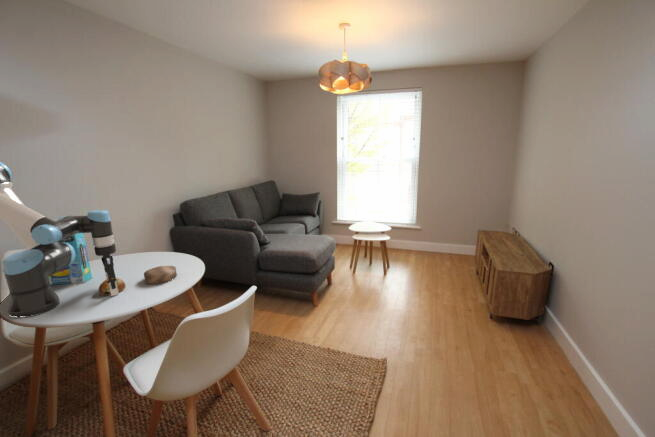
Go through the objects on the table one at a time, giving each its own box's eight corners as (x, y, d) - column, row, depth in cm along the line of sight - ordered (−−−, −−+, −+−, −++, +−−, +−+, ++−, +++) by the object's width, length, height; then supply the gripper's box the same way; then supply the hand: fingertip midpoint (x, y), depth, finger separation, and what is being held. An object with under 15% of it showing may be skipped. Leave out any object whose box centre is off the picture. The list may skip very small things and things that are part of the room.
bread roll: (129, 295, 143) (132, 278, 144) (112, 296, 133) (115, 277, 134) (109, 294, 144) (112, 277, 145) (91, 295, 134) (94, 276, 135)
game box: (39, 285, 146) (25, 231, 140) (49, 280, 152) (37, 227, 146) (84, 283, 148) (73, 229, 142) (93, 278, 154) (82, 226, 148)
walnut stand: (148, 287, 142) (147, 279, 141) (142, 278, 153) (141, 270, 152) (180, 278, 151) (179, 271, 150) (172, 270, 162) (171, 263, 161)
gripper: (118, 249, 128) (126, 296, 133) (111, 237, 146) (119, 279, 151) (96, 253, 123) (105, 302, 128) (91, 240, 141) (100, 284, 146)
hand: (113, 290), depth 139 cm, fingers open, 12 cm apart
